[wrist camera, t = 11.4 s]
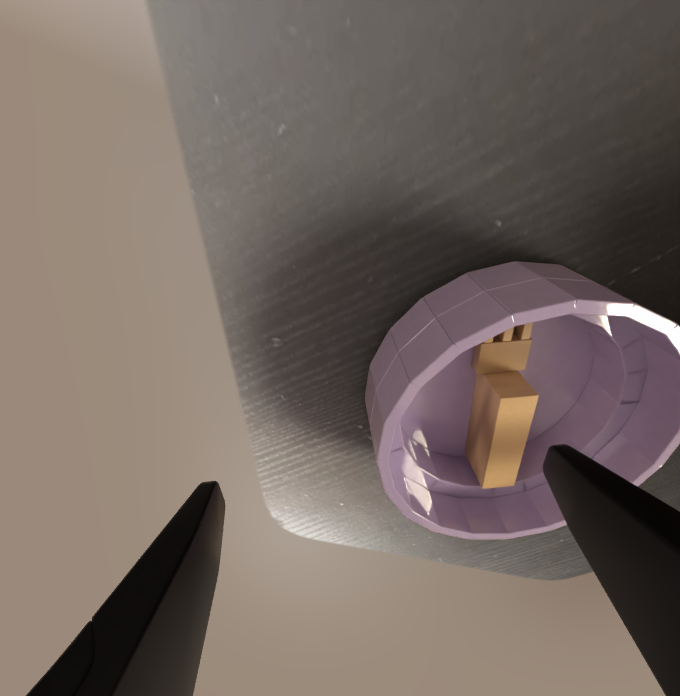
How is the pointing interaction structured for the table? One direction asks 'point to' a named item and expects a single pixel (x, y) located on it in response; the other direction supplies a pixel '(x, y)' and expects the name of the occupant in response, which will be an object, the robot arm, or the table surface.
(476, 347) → the fork
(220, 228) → the table surface
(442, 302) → the bowl
